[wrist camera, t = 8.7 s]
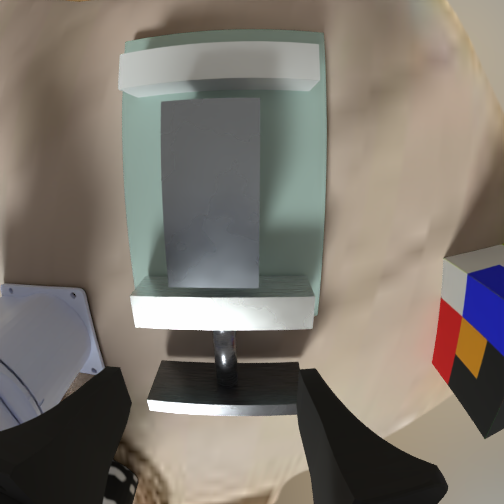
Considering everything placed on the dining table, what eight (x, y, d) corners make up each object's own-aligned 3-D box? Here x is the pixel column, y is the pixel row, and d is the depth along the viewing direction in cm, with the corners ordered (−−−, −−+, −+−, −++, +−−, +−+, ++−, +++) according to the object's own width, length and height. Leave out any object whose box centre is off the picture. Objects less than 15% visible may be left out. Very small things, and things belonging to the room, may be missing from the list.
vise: (143, 307, 21) (124, 337, 18) (131, 46, 16) (106, 26, 12) (314, 308, 21) (326, 339, 18) (320, 38, 16) (336, 14, 12)
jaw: (163, 370, 22) (149, 410, 18) (148, 272, 20) (124, 303, 15) (297, 372, 22) (305, 413, 18) (304, 272, 20) (318, 304, 15)
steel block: (190, 250, 19) (168, 287, 14) (186, 116, 17) (160, 101, 11) (256, 250, 19) (258, 288, 14) (257, 114, 17) (260, 97, 11)
